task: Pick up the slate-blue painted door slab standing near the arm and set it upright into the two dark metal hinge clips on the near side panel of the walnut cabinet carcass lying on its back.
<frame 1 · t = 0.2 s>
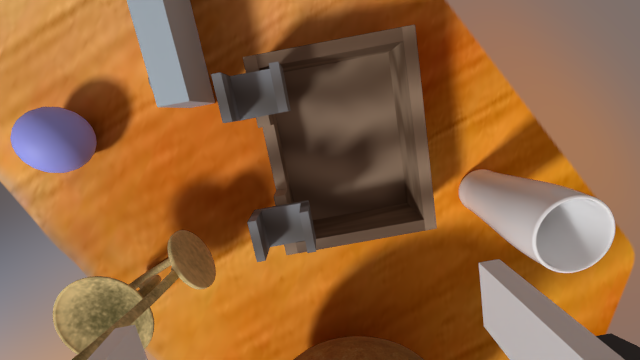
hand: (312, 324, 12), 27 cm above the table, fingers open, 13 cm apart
door: (186, 41, 35), on the table
wall sconce: (171, 258, 41), on the table
drinking glass: (476, 188, 40), on the table
carcass: (340, 141, 38), on the table
sphere: (81, 137, 37), on the table
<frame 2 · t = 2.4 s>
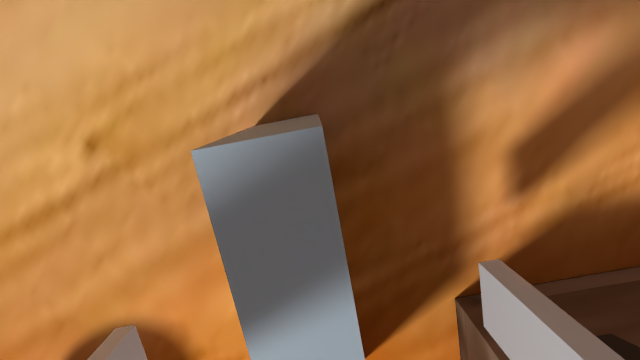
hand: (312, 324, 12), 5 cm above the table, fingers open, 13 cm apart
door: (314, 253, 16), on the table
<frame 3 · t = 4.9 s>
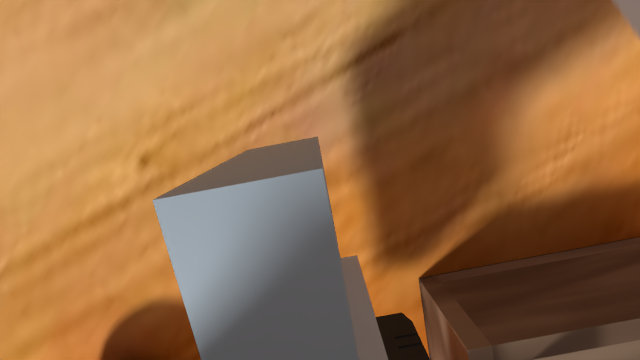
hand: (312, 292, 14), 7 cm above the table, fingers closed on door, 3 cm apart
door: (313, 291, 15), point 7 cm above the table, touching gripper
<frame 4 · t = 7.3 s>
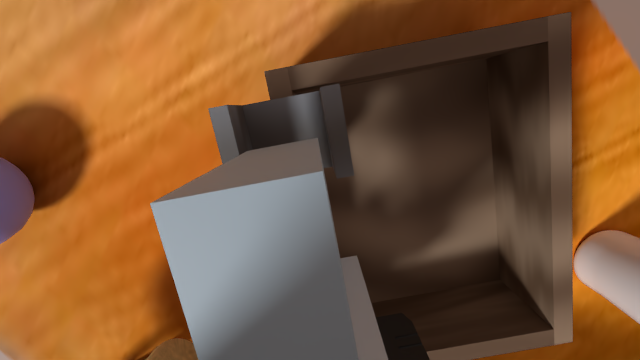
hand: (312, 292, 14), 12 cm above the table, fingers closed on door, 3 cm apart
door: (313, 293, 15), point 11 cm above the table, touching gripper
wall sconce: (154, 355, 28), on the table
drinking glass: (597, 255, 27), on the table
carcass: (402, 191, 25), on the table
sphere: (15, 187, 25), on the table
when the fingers open (8 cm above the table, at t = 8.5 s): door stays where it is, resting on carcass.
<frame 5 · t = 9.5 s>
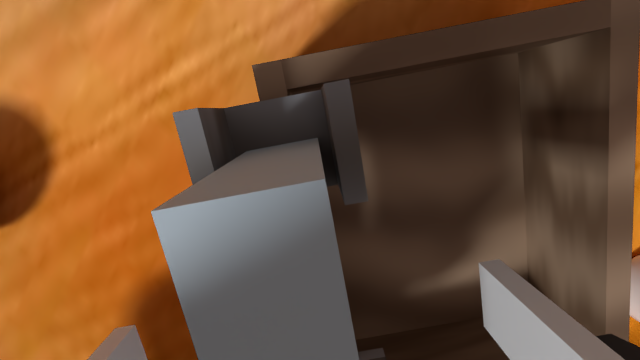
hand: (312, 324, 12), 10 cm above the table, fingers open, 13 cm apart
door: (313, 292, 15), point 8 cm above the table, touching carcass
carcass: (417, 206, 22), on the table
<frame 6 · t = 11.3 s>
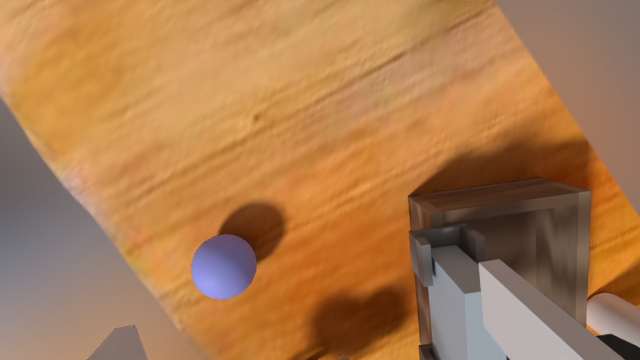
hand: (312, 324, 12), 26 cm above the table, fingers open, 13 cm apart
door: (444, 310, 32), point 8 cm above the table, touching carcass
drinking glass: (598, 308, 42), on the table
carcass: (477, 263, 40), on the table
sphere: (232, 251, 39), on the table
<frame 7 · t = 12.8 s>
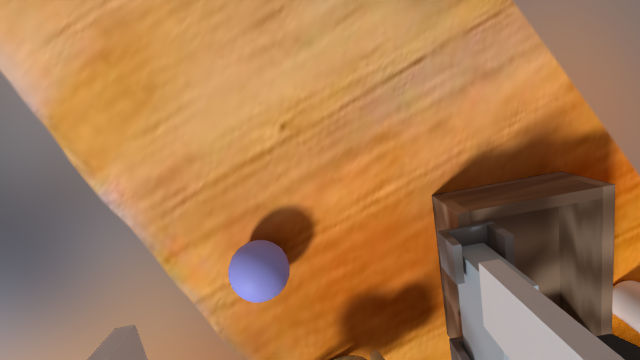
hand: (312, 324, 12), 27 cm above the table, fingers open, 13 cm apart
door: (474, 305, 34), point 8 cm above the table, touching carcass
wall sconce: (333, 358, 44), on the table
drinking glass: (621, 295, 43), on the table
carcass: (501, 257, 41), on the table
sphere: (264, 255, 40), on the table
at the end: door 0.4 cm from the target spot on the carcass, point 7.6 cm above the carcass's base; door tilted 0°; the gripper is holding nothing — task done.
